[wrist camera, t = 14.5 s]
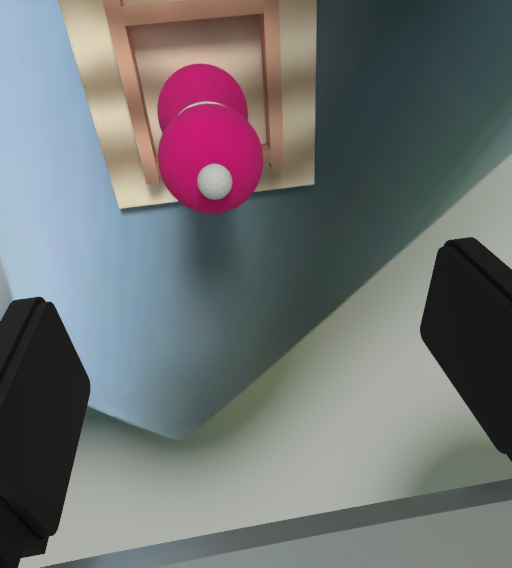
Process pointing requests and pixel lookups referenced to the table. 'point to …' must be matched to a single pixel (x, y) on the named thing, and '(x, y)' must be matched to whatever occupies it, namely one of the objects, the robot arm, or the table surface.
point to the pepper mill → (207, 140)
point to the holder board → (196, 50)
